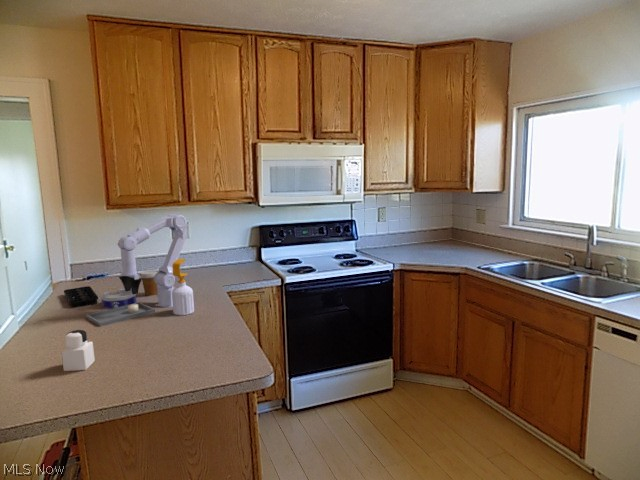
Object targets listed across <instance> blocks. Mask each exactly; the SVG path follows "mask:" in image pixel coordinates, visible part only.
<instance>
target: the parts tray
mask: <svg viewBox="0 0 640 480" xmlns="http://www.w3.org/2000/svg"><path fill="white" fill-rule="evenodd" d="M134 304H138V308H139V312H137V313H133V314H130V313H128V305H126V306H121V307H117V308H108V309H106V310H100V311H96V312H93V313H88V314H86V315H85V316H86V317H85V318H86V319H87V320H89V321H90V322H91V323H93V324H95V325H96V326H98V327H104V326H107V325H112V324H115V323H119V322H124V321H127V320H130V319H135V318H138V317H142V316H147V315H150V314H154V313H156V308H154V307H151V306H149V305H147V304H145V303H142V302H140V301H139V302H136V303H134Z"/></svg>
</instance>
